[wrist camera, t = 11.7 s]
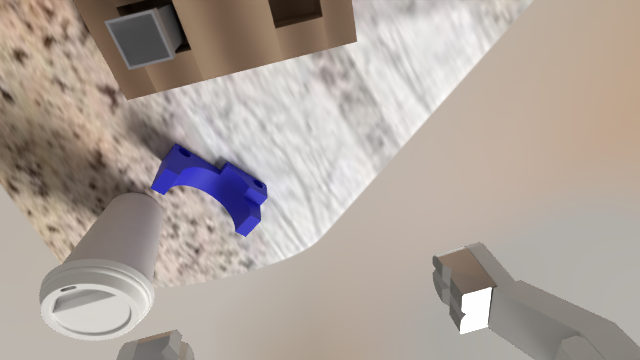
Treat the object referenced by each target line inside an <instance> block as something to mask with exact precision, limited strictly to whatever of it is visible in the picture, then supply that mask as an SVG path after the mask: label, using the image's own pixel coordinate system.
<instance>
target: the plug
mask: <svg viewBox="0 0 640 360" xmlns="http://www.w3.org/2000/svg"><path fill="white" fill-rule="evenodd" d="M104 22H105V24H106V26H107V28H108V30H109V32H110V34H111V36H112V38H113V40H114V42H115V44H116V46H117V48H118V50H119V52H120V54H121V56H122V57H123V59H124V61H125V63H126V65H127V67H128V69H129V70H131V69H135V68H139V67H143V66H147V65H151V64H155V63H159V62H163V61H167V60H171V59H174V58H175V57H176V53H175V50H176V49H177V48H178V46H179V45H180V44H181V43H182V42H183V41H184V39H185V38H186V34H185V32H184V29H183V27H182V24H181V22H180V19H179V17H178V14H177V11H176V9H175V6H174V4H173V2H171V3H167V4H163V5H159V6H155V7H151V8H146V9H142V10H140V11H137V12H135V13H133V14H129V15H125V16H121V17H116V18H112V19H109V20H106V21H104Z"/></svg>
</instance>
